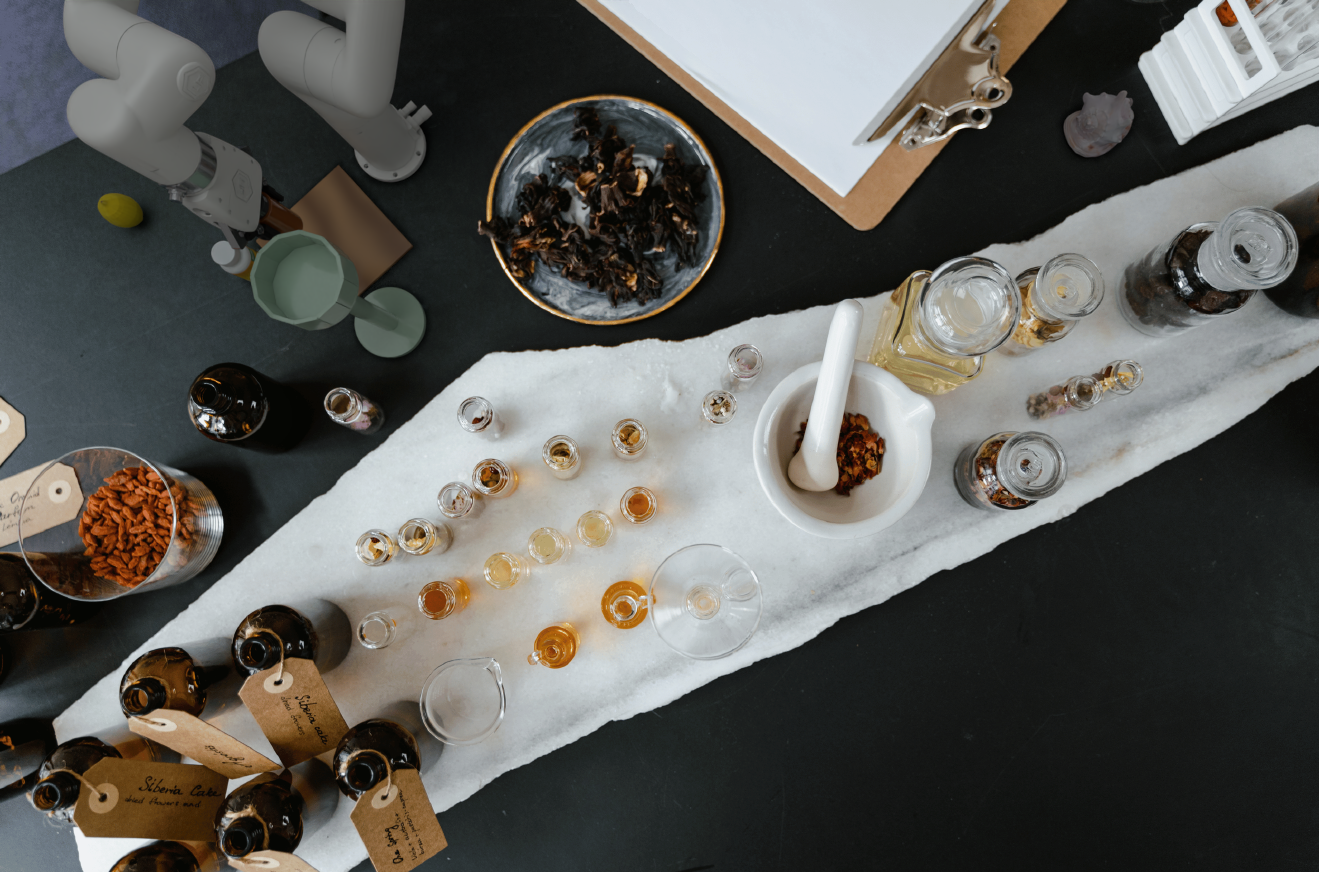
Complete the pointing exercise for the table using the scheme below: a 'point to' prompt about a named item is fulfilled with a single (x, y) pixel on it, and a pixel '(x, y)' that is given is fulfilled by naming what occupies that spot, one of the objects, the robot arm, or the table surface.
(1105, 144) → the seashell
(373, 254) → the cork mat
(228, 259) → the supplement bottle
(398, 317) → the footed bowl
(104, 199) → the fruit
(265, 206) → the amber bottle
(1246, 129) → the table surface
